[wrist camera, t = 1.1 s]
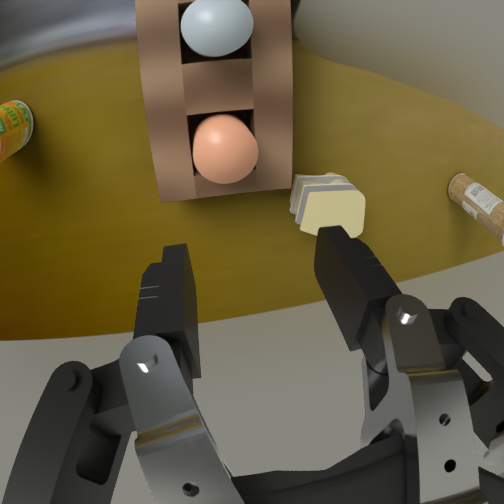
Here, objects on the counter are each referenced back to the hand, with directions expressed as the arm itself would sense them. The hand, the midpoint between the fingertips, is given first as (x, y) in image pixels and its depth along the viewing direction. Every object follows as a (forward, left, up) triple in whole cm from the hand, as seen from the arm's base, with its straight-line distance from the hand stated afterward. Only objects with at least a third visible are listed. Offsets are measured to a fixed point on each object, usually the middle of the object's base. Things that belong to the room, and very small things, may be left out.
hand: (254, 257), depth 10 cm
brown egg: (0, 0, -16) cm, 16 cm away
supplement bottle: (+8, -20, -20) cm, 29 cm away
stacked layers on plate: (+1, +13, -20) cm, 24 cm away
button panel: (-7, -5, -19) cm, 21 cm away
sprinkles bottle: (-12, +31, -20) cm, 39 cm away
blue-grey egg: (-7, -5, -16) cm, 19 cm away
